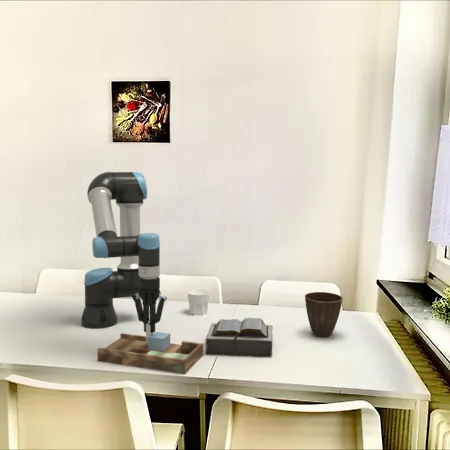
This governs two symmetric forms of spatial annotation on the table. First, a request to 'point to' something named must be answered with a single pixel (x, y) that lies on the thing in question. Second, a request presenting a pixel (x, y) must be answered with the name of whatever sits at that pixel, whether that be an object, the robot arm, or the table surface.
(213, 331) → the bible
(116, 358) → the wooden tray
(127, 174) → the robot arm
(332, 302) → the plant pot
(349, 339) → the table surface
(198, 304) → the cup
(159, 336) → the block
